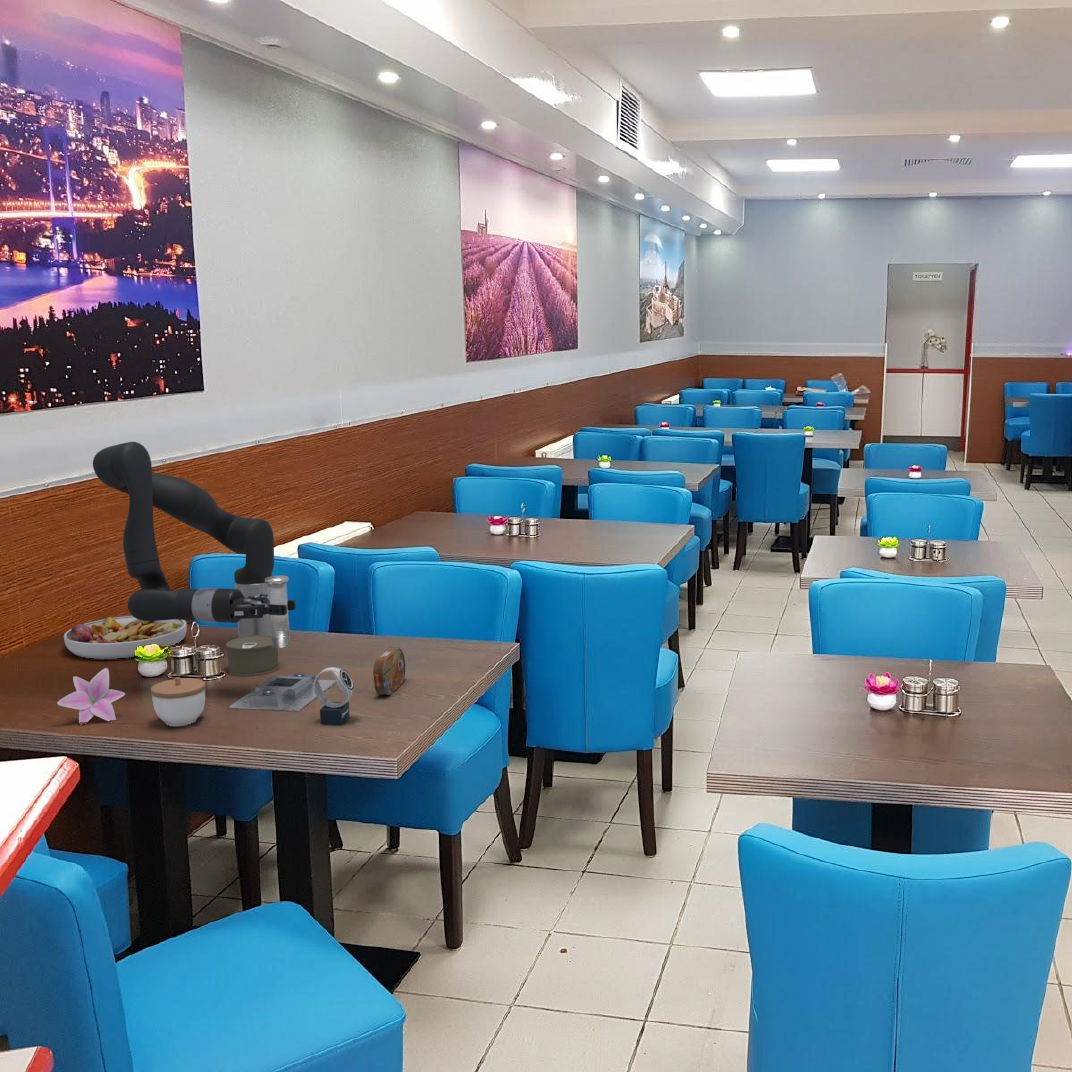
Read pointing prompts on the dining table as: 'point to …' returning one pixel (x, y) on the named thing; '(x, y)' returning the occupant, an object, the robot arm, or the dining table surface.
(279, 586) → the steel pin
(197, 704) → the lidded jar
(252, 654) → the can
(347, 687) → the watch
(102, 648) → the bowl
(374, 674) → the tin
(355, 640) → the dining table surface
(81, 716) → the lily
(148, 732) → the dining table surface
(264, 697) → the grey fixture plate
